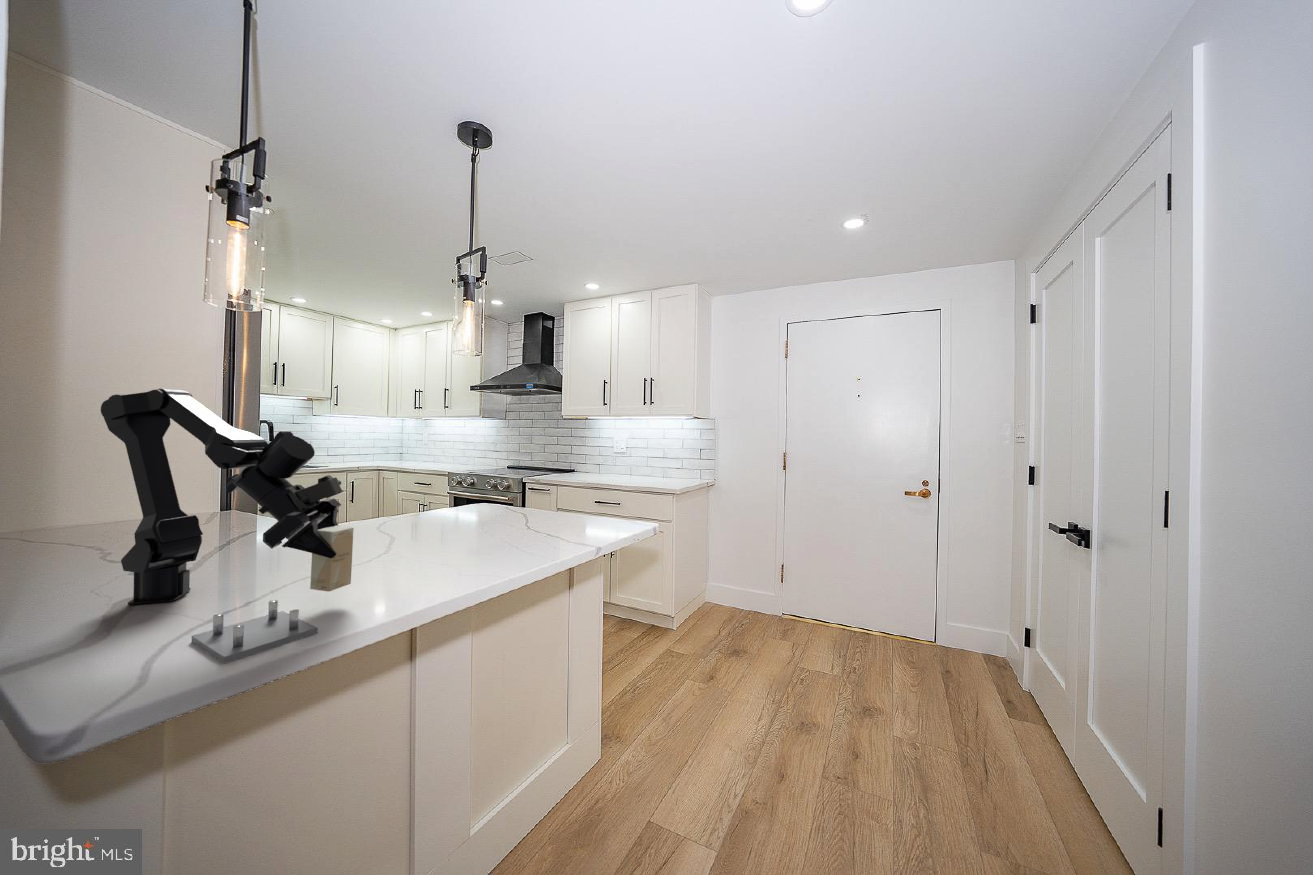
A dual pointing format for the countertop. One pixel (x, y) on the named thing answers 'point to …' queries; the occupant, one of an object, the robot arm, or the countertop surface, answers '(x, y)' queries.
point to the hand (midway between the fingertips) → (341, 551)
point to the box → (333, 560)
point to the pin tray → (253, 634)
